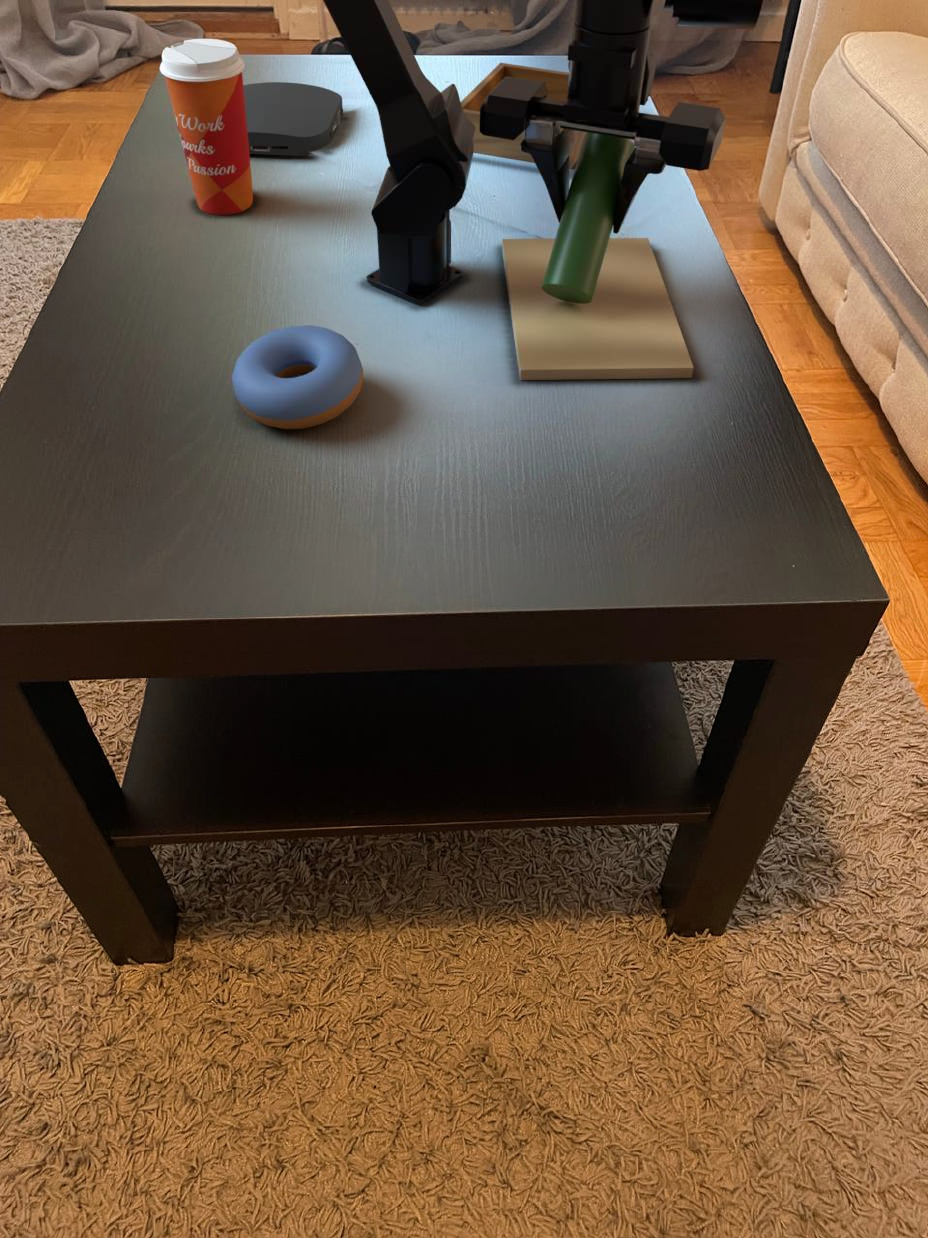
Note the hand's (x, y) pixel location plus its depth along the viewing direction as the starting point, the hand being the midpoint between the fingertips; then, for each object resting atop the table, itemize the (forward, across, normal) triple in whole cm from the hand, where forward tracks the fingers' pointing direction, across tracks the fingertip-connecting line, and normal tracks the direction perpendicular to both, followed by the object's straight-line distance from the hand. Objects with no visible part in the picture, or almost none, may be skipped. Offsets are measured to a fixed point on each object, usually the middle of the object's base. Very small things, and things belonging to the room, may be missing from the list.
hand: (589, 226), depth 84 cm
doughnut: (+6, +16, +24) cm, 30 cm away
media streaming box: (+6, +43, -21) cm, 48 cm away
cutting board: (+6, -1, +3) cm, 7 cm away
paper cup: (+6, +39, -3) cm, 39 cm away
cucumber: (+4, 0, +6) cm, 7 cm away
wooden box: (+6, +15, -30) cm, 34 cm away
